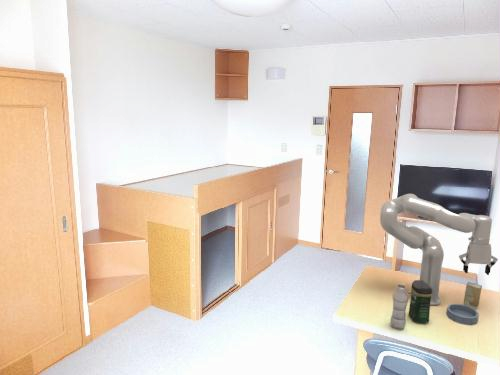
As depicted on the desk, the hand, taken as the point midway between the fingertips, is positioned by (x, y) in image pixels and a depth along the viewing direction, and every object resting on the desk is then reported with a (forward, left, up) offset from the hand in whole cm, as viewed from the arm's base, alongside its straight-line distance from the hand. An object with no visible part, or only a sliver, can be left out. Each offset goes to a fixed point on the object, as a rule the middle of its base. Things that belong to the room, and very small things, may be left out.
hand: (476, 273), depth 189 cm
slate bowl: (-8, -12, -19) cm, 24 cm away
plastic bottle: (-40, -27, -19) cm, 52 cm away
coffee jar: (-29, -18, -19) cm, 39 cm away
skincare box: (0, 0, -19) cm, 19 cm away
